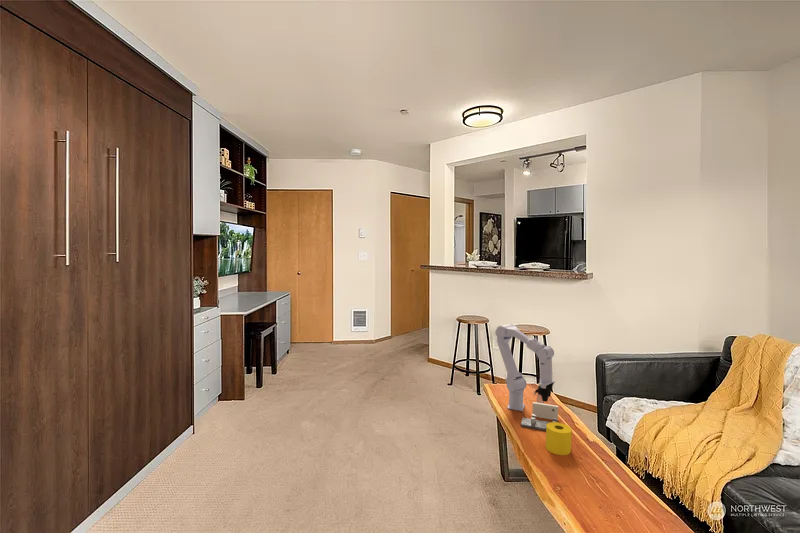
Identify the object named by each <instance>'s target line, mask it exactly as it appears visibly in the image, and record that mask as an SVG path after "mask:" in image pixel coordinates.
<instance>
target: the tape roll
mask: <svg viewBox="0 0 800 533" xmlns="http://www.w3.org/2000/svg"><path fill="white" fill-rule="evenodd" d="M549 422H550V421H549ZM545 432H546V433H545V448H546V450H547V451H548V452H550V453H551V454H554V455H558V456H559V455H560V456H567V455H570V454H571V453H572V434H573V433H572V432H573V429H572V427H571V426H569V424H566V423H563V422H558V421H557V422H552V421H551V422H550V423H548V424H547V425H546V431H545Z"/></svg>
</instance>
